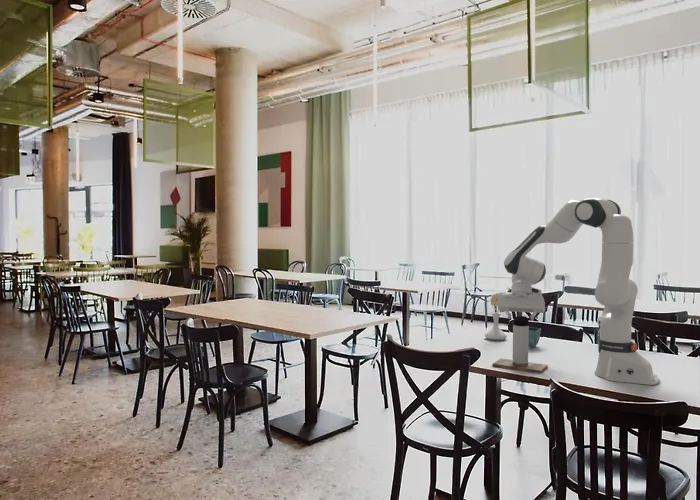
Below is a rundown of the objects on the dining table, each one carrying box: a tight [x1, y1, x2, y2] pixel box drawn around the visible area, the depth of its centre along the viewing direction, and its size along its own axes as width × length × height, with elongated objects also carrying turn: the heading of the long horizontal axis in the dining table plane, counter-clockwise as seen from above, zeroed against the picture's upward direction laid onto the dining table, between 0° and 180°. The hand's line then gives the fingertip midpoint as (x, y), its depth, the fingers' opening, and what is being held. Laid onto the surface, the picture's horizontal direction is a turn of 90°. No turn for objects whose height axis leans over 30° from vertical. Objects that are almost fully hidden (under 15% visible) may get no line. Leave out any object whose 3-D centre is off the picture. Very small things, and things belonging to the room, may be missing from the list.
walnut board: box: [491, 357, 549, 374], centre depth 224 cm, size 20×11×1 cm, turn 57°
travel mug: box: [512, 315, 530, 366], centre depth 223 cm, size 6×7×20 cm
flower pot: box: [528, 326, 542, 349], centre depth 262 cm, size 9×9×9 cm
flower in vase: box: [484, 292, 508, 341], centre depth 278 cm, size 13×11×25 cm
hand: (520, 318), depth 233 cm, fingers open, 8 cm apart
